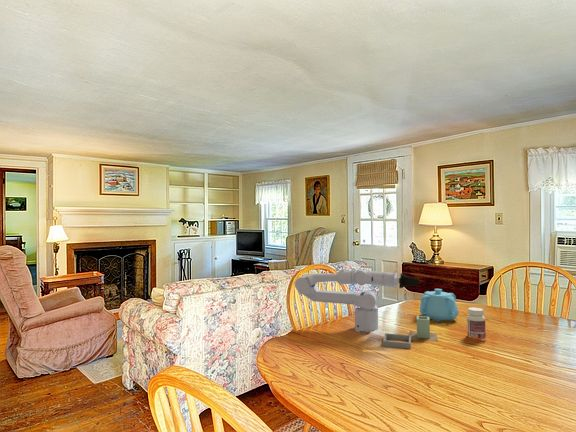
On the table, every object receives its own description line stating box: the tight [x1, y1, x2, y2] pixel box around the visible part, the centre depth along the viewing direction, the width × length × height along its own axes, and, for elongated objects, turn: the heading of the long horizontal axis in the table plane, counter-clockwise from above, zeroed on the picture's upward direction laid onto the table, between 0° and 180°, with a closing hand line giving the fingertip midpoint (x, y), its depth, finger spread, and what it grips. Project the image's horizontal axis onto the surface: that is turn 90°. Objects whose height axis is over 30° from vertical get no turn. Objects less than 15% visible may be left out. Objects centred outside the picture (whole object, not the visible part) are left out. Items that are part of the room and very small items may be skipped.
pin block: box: [409, 331, 439, 343], centre depth 140 cm, size 10×10×4 cm
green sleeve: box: [416, 315, 431, 339], centre depth 140 cm, size 5×5×7 cm
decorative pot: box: [419, 288, 459, 323], centre depth 167 cm, size 16×16×14 cm
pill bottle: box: [466, 307, 487, 342], centre depth 138 cm, size 6×6×11 cm
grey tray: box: [382, 332, 412, 350], centre depth 133 cm, size 9×9×2 cm
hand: (418, 282), depth 145 cm, fingers open, 7 cm apart
